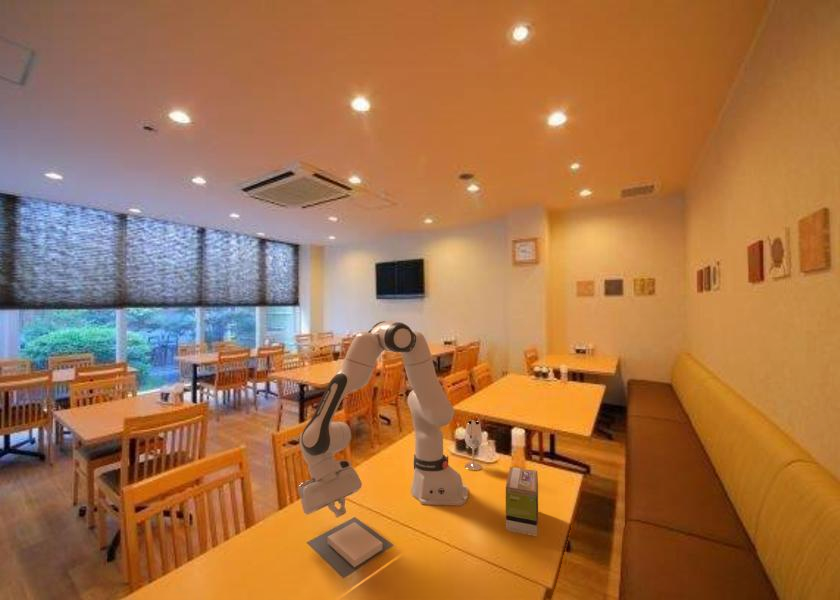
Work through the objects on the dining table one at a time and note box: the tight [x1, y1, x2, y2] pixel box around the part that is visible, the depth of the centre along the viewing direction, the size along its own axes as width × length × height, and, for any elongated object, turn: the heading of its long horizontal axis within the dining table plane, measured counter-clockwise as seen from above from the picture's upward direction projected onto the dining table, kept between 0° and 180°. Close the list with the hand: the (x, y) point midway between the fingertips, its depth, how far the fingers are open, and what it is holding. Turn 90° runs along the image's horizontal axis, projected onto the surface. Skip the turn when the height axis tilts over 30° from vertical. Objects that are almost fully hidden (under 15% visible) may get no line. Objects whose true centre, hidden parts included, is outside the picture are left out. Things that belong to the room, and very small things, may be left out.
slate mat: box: [306, 516, 394, 579], centre depth 108 cm, size 20×18×1 cm
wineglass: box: [464, 420, 483, 471], centre depth 160 cm, size 8×8×20 cm
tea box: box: [505, 466, 539, 537], centre depth 121 cm, size 15×10×15 cm
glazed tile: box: [327, 522, 382, 567], centre depth 106 cm, size 2×10×14 cm
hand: (341, 515), depth 111 cm, fingers closed
